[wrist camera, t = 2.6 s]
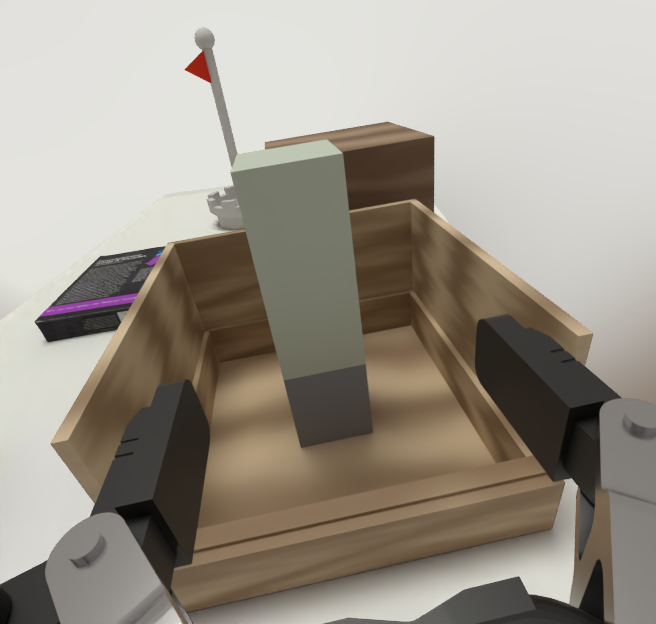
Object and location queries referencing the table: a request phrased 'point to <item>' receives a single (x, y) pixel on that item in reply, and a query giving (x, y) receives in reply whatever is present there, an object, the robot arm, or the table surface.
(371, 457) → the wooden open bin
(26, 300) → the table surface
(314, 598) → the table surface
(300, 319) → the box
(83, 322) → the box
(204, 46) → the flag stand
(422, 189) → the riser
